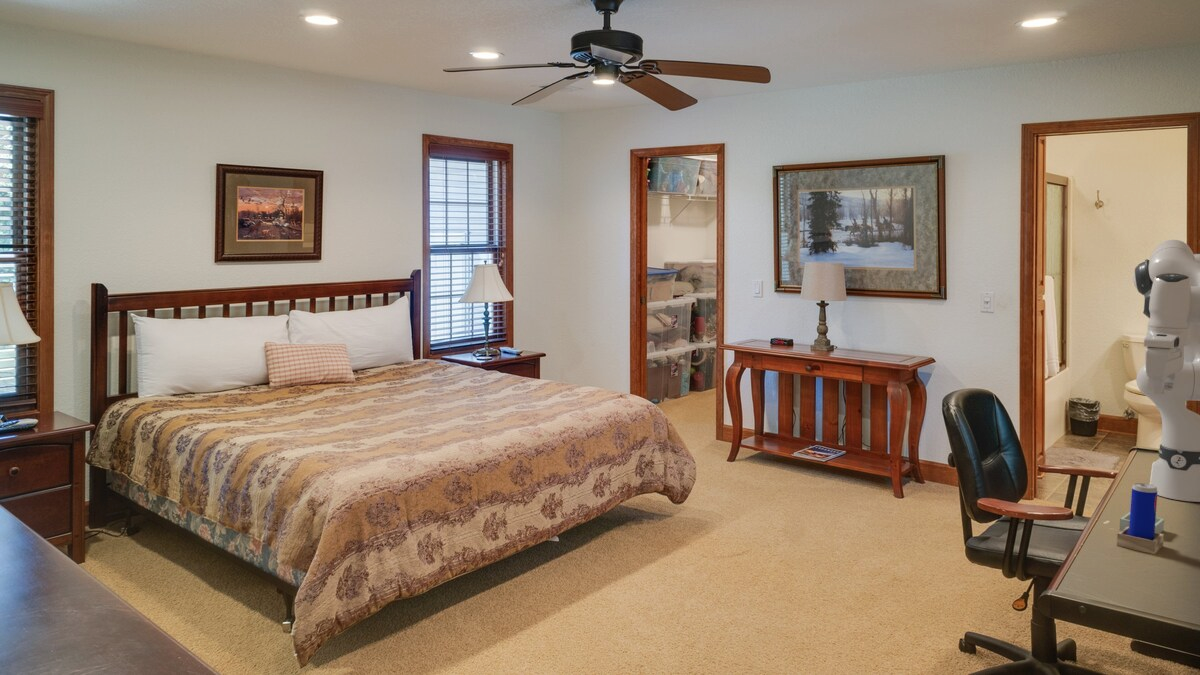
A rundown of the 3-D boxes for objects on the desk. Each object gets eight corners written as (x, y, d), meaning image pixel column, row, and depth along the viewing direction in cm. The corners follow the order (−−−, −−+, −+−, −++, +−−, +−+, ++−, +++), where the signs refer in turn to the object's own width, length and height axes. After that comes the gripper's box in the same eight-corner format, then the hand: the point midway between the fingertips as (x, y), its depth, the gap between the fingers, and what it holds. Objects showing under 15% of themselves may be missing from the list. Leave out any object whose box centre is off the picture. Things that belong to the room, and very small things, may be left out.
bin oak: (1126, 537, 209) (1127, 526, 209) (1163, 546, 203) (1164, 534, 203) (1116, 545, 204) (1117, 533, 203) (1154, 554, 198) (1154, 541, 198)
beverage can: (1157, 550, 201) (1161, 489, 199) (1132, 548, 202) (1137, 487, 200) (1148, 543, 206) (1152, 483, 204) (1124, 541, 207) (1128, 482, 205)
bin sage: (1128, 523, 220) (1129, 512, 220) (1163, 530, 214) (1164, 519, 214) (1119, 530, 215) (1120, 518, 214) (1154, 537, 209) (1155, 526, 209)
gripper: (1164, 334, 223) (1160, 385, 224) (1141, 340, 209) (1137, 395, 210) (1192, 335, 218) (1188, 388, 220) (1171, 342, 204) (1167, 398, 206)
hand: (1163, 391), depth 215 cm, fingers open, 8 cm apart
